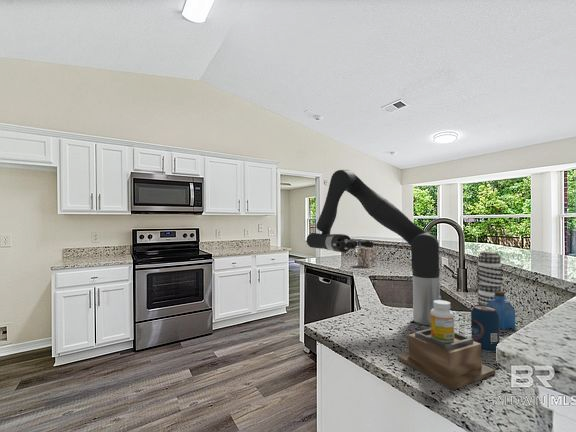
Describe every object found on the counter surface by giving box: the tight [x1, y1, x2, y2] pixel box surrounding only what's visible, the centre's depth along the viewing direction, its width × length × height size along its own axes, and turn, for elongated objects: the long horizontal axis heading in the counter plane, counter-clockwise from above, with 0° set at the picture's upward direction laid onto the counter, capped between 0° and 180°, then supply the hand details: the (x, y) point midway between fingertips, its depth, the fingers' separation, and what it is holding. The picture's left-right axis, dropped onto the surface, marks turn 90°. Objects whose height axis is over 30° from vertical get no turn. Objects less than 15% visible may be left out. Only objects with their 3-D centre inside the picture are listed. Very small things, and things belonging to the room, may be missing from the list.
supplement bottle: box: [430, 299, 455, 343], centre depth 75 cm, size 5×5×10 cm
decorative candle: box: [476, 250, 504, 306], centre depth 118 cm, size 9×9×25 cm
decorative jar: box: [357, 246, 378, 268], centre depth 239 cm, size 12×12×18 cm
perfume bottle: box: [487, 290, 516, 330], centre depth 103 cm, size 6×6×12 cm
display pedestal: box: [397, 327, 496, 391], centre depth 74 cm, size 16×16×8 cm
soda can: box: [470, 304, 501, 353], centre depth 85 cm, size 7×7×12 cm
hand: (363, 245), depth 106 cm, fingers open, 8 cm apart
